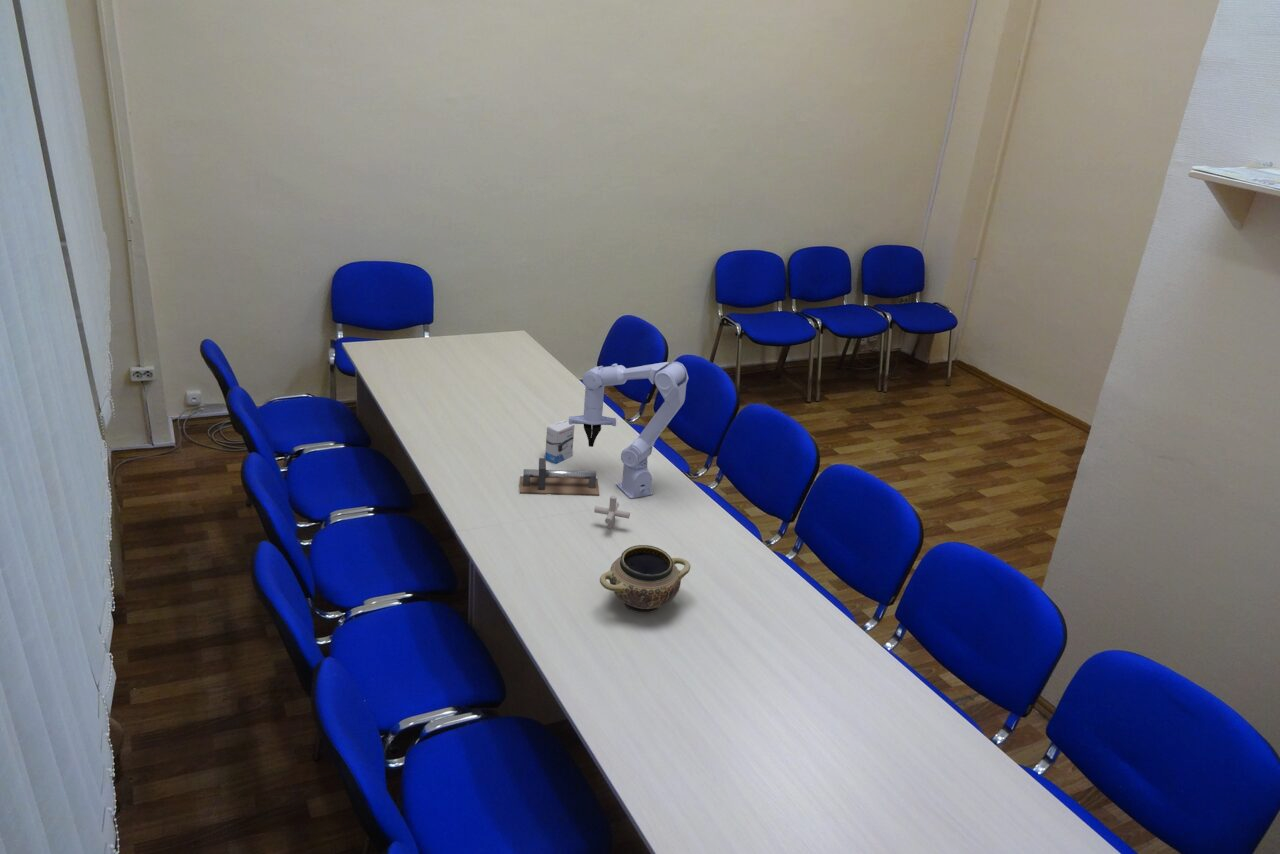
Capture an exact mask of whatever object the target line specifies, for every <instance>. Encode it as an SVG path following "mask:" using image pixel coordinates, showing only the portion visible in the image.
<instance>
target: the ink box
mask: <svg viewBox="0 0 1280 854" xmlns="http://www.w3.org/2000/svg"><path fill="white" fill-rule="evenodd" d="M574 435H575V424H572V425H569V420H566V419H562V420H559V421H557V422H554V423H552V424H548V425H547V427H546V435H545V436H546V437H545V439H546V440H545V454H544V458H546V461H549V462H551V463H553V464H555V465H556V464H558V463H561V462H562V461H564V460H567V459H569V458H571V457H573V454H574V453H573V452H574V450H573V449H574V448H573V447H574V439H575V438H574V437H575V436H574Z"/></svg>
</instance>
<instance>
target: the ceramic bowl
mask: <svg viewBox="0 0 1280 854" xmlns="http://www.w3.org/2000/svg"><path fill="white" fill-rule="evenodd" d="M677 564H678V565H679V564H680V565H682V566H684V567H683V568H682V569H678V567H677V566H676V565H677ZM690 570H691V563H690V562H689V561H688V560H687V559H684V558H682V557H671V556H670V555H669V554H668V552H666V551H664V550H663V549H662V548H659V547H657V546H653V545H648V544H647V545H646V544H644V545H643V544H638V545H632V546H630V547H628V548H626V549H625V550H624V551H623V552H622V553H621V555H620V556H619V557H618V558H617V559H615V560H614V562H613V563H612V564H611V566H610V568H609V570H608V571H607V572H604V573H602V574H601V576H600V577H599V584H600V585H601V587H603V588H604V589H605V590H608V591H611V592H613V593H614V595H615V596H616V597H617V598H618V599H619V600H620V601H621V602H623V604H624V605H625V607H626V608H627V609H629V610H631V611H633V612H635V613H636V612H637V613H639V614H649V613H654V612H655V611H657V610H659V608H660V607H663V606H665V605H667V604H668V603H669V602H671V601H672V600H673V599H674V598H675V597H676V595H677V594H678V593H679V591H680V588H681V583H682V579H684V577H685V576H686V575H687V574H688V573H689V572H690ZM607 580H608V581H609V582H608V581H607Z"/></svg>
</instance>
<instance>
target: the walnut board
mask: <svg viewBox="0 0 1280 854" xmlns="http://www.w3.org/2000/svg"><path fill="white" fill-rule="evenodd" d="M588 482H589V479H575V478H545V489H538V477H530V487H523V475H522V476H521V475H520V477H519V495H546V494H551V495H553V496H554V495H555V496H556V495H557V496H590V497H591V496H592V497H599V496H600V488H599V481H598V477H596V487H595V488H589V484H588Z"/></svg>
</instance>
